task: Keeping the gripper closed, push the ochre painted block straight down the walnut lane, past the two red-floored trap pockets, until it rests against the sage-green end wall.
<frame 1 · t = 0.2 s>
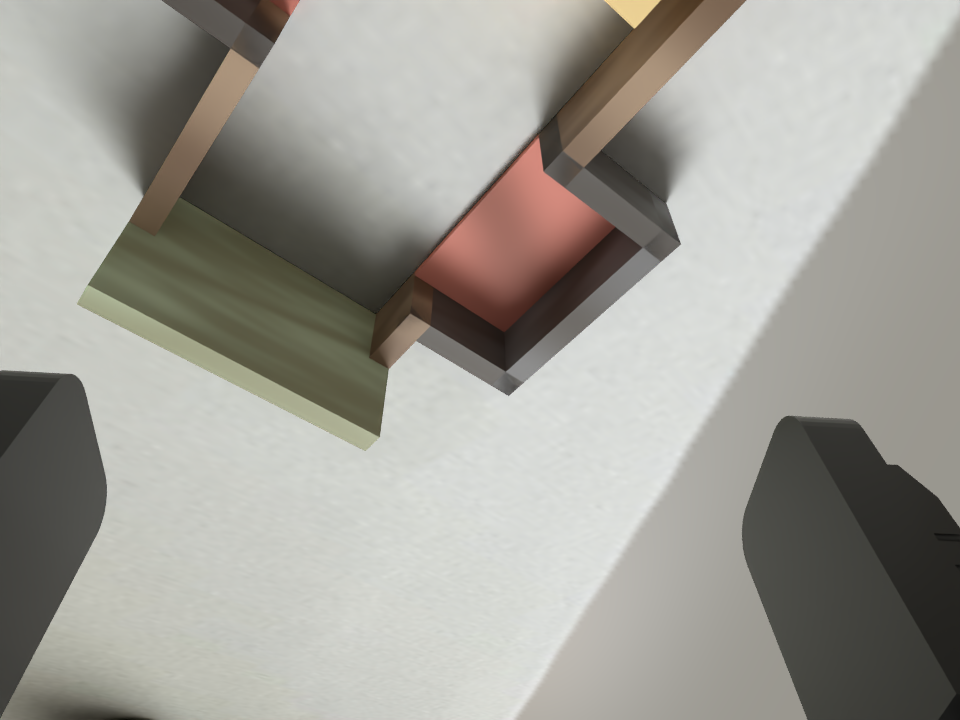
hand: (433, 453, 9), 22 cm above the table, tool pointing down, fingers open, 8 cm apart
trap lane: (473, 8, 27), on the table
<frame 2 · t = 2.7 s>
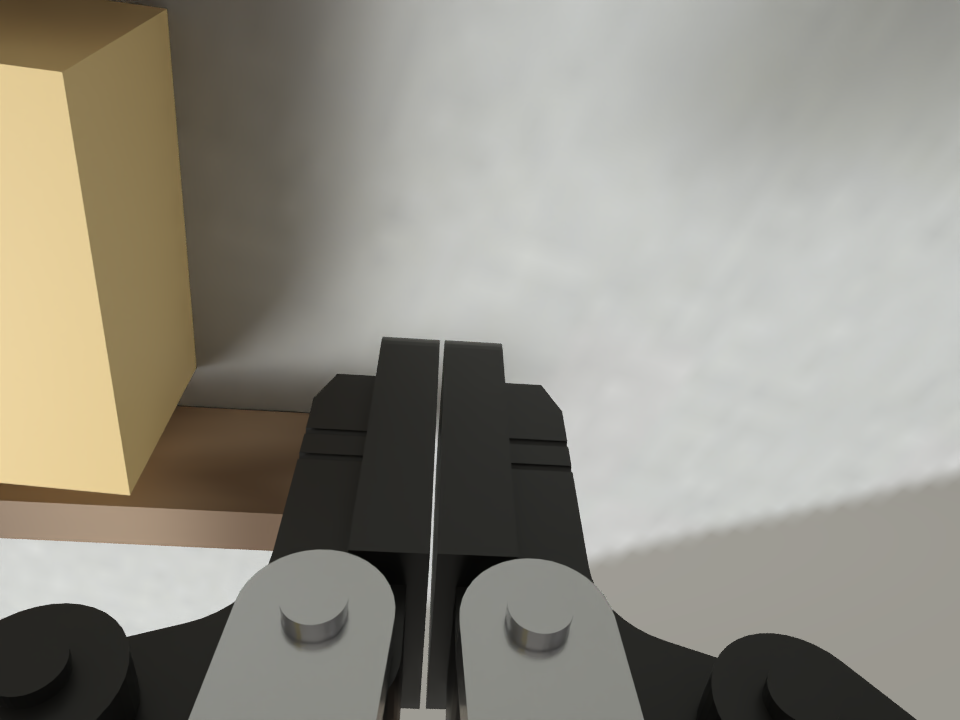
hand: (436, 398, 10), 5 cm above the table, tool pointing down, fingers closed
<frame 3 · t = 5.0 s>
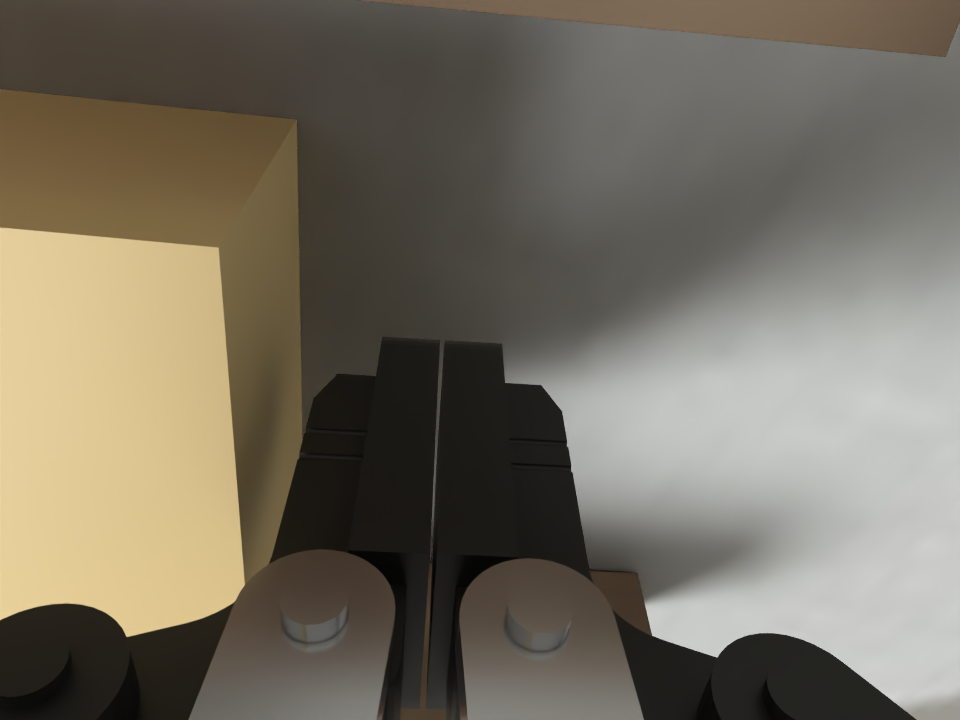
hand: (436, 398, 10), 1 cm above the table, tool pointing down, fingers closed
block: (63, 325, 12), resting in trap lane
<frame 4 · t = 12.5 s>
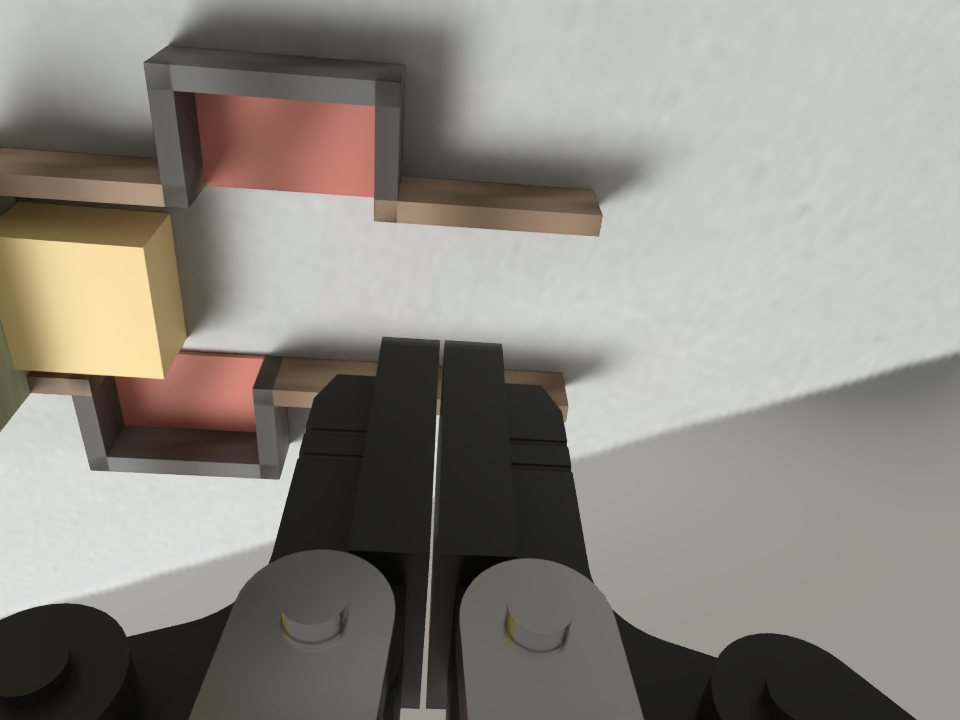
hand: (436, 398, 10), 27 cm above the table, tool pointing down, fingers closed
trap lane: (298, 279, 39), on the table
block: (108, 271, 39), resting in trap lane
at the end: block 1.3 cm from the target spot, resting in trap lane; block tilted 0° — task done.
